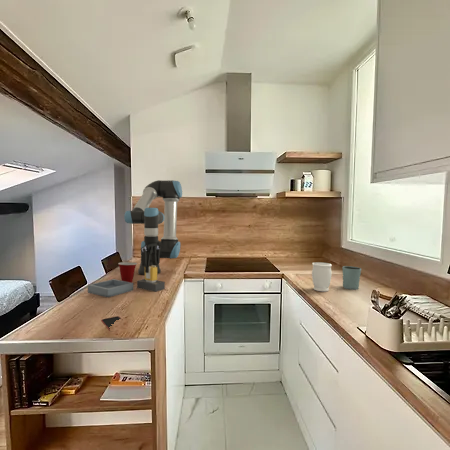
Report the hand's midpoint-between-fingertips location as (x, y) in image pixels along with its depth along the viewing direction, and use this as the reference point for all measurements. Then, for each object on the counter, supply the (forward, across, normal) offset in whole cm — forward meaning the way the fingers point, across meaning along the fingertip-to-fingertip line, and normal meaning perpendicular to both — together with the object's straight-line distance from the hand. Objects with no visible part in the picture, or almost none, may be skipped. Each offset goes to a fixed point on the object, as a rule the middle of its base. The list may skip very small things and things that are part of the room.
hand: (150, 277), depth 160 cm
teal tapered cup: (+6, -67, +95) cm, 116 cm away
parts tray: (+6, +16, -13) cm, 21 cm away
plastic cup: (+6, -2, -21) cm, 22 cm away
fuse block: (+6, 0, 0) cm, 6 cm away
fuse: (+6, 0, 0) cm, 6 cm away
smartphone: (+7, +44, +25) cm, 51 cm away
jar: (+6, -52, +81) cm, 96 cm away
